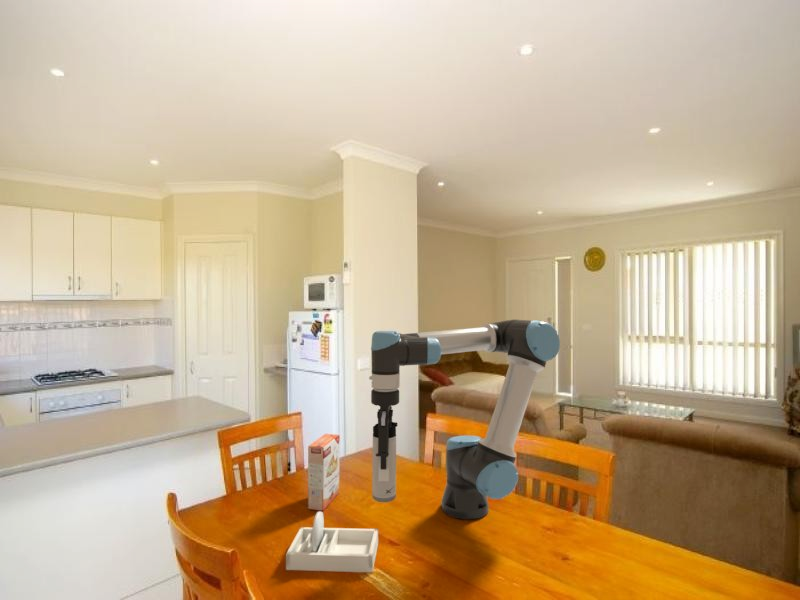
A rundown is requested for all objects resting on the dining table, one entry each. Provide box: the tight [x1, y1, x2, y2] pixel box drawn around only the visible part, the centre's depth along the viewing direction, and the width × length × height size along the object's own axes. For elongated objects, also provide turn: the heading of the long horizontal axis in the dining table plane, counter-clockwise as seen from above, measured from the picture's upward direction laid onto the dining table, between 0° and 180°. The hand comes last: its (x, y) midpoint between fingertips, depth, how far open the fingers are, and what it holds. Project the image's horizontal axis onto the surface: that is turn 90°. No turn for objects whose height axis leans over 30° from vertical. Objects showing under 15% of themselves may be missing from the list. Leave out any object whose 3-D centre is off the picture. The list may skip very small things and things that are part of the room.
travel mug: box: [371, 421, 398, 503], centre depth 116 cm, size 6×7×20 cm
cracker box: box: [307, 433, 341, 512], centre depth 147 cm, size 14×6×21 cm, turn 166°
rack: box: [285, 511, 379, 573], centre depth 116 cm, size 22×13×11 cm, turn 87°
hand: (384, 475), depth 116 cm, fingers closed on travel mug, 6 cm apart
